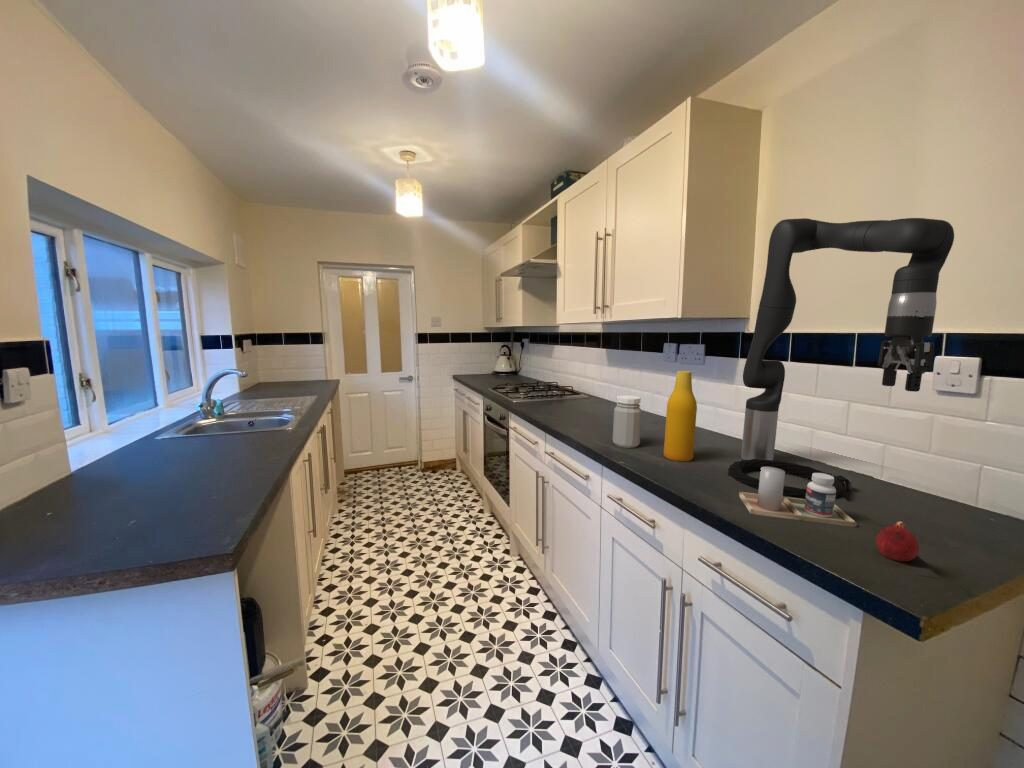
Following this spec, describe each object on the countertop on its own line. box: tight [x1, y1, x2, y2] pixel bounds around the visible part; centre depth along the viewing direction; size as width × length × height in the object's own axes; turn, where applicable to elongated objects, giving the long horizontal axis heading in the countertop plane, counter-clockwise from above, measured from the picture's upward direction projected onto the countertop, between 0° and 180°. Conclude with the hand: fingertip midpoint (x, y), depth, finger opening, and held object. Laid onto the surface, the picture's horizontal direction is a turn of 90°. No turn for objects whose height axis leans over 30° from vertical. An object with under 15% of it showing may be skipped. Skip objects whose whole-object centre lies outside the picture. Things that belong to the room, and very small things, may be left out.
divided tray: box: [738, 491, 858, 528], centre depth 95 cm, size 11×20×2 cm, turn 74°
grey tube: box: [757, 467, 786, 511], centre depth 96 cm, size 5×5×9 cm
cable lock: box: [727, 459, 853, 499], centre depth 114 cm, size 28×4×30 cm
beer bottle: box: [663, 370, 698, 463], centre depth 135 cm, size 9×9×29 cm
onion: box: [875, 521, 920, 563], centre depth 75 cm, size 6×6×8 cm
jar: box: [612, 394, 643, 449], centre depth 150 cm, size 10×10×18 cm
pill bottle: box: [804, 473, 836, 518], centre depth 93 cm, size 5×5×9 cm
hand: (899, 388), depth 91 cm, fingers open, 8 cm apart
